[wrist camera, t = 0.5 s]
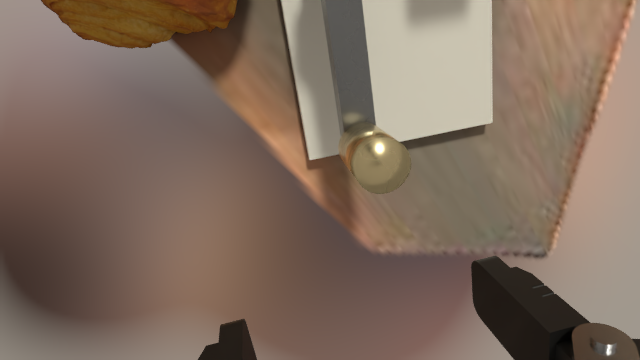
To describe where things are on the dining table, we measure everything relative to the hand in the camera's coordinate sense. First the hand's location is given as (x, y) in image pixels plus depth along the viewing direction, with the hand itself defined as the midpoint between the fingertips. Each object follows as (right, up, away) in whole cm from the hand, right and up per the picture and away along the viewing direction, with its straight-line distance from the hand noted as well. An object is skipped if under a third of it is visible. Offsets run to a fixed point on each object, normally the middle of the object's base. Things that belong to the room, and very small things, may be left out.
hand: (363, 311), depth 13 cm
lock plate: (+5, +17, +20) cm, 27 cm away
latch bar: (0, +13, +16) cm, 21 cm away
